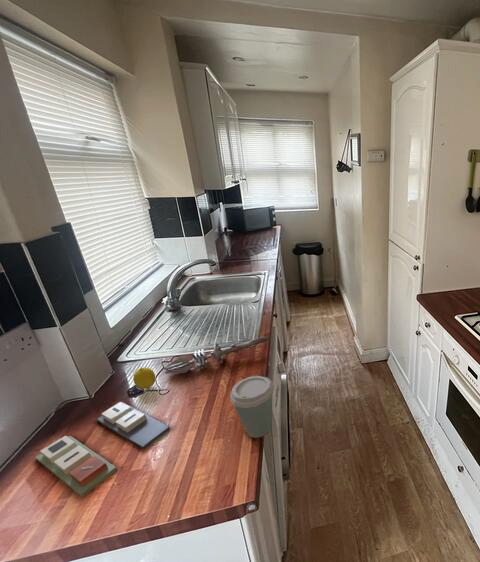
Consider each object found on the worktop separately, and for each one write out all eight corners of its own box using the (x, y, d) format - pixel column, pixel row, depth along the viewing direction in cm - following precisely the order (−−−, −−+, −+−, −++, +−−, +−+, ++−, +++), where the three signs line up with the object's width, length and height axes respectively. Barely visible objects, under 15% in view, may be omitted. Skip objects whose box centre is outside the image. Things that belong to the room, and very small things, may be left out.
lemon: (161, 386, 101) (154, 366, 98) (142, 396, 97) (134, 376, 93) (153, 380, 104) (146, 360, 101) (135, 390, 99) (126, 370, 96)
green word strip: (36, 459, 77) (31, 451, 76) (71, 438, 83) (67, 430, 82) (81, 497, 68) (76, 488, 67) (117, 469, 74) (113, 461, 73)
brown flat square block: (71, 478, 71) (68, 472, 70) (97, 460, 75) (94, 454, 74) (82, 487, 69) (79, 481, 68) (108, 468, 73) (105, 462, 72)
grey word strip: (97, 421, 88) (94, 414, 87) (124, 404, 93) (121, 397, 92) (143, 449, 79) (140, 441, 78) (170, 429, 85) (167, 421, 83)
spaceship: (268, 339, 110) (264, 323, 115) (158, 375, 99) (159, 355, 104) (272, 351, 116) (268, 335, 121) (169, 386, 105) (169, 367, 110)
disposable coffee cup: (249, 413, 89) (239, 371, 83) (286, 413, 89) (278, 371, 83) (232, 445, 79) (220, 400, 74) (273, 445, 79) (264, 400, 73)
